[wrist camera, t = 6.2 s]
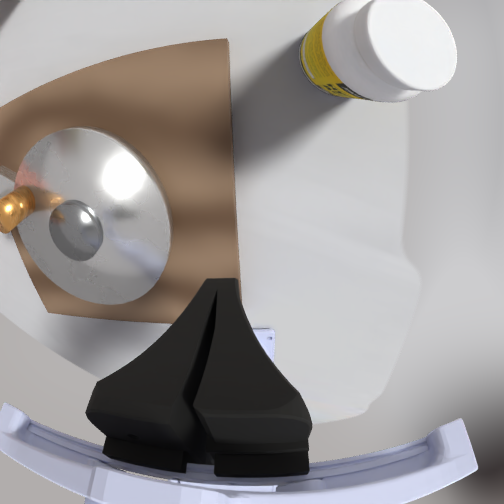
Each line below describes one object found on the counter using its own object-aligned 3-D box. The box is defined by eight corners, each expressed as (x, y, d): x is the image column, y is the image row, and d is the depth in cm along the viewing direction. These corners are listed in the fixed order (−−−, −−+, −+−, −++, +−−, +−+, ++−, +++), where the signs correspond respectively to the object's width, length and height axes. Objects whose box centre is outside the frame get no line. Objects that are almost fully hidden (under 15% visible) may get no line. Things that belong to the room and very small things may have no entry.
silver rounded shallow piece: (207, 174, 16) (193, 200, 13) (144, 318, 23) (130, 355, 19) (14, 95, 12) (-24, 105, 8) (1, 240, 19) (-24, 264, 15)
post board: (242, 312, 25) (240, 361, 21) (54, 304, 26) (32, 337, 21) (228, 42, 14) (218, 22, 9) (-5, 113, 14) (-46, 128, 10)
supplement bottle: (303, 99, 16) (354, 105, 8) (291, 24, 13) (329, -37, 5) (379, 98, 15) (474, 116, 7) (370, 27, 13) (457, -6, 4)
